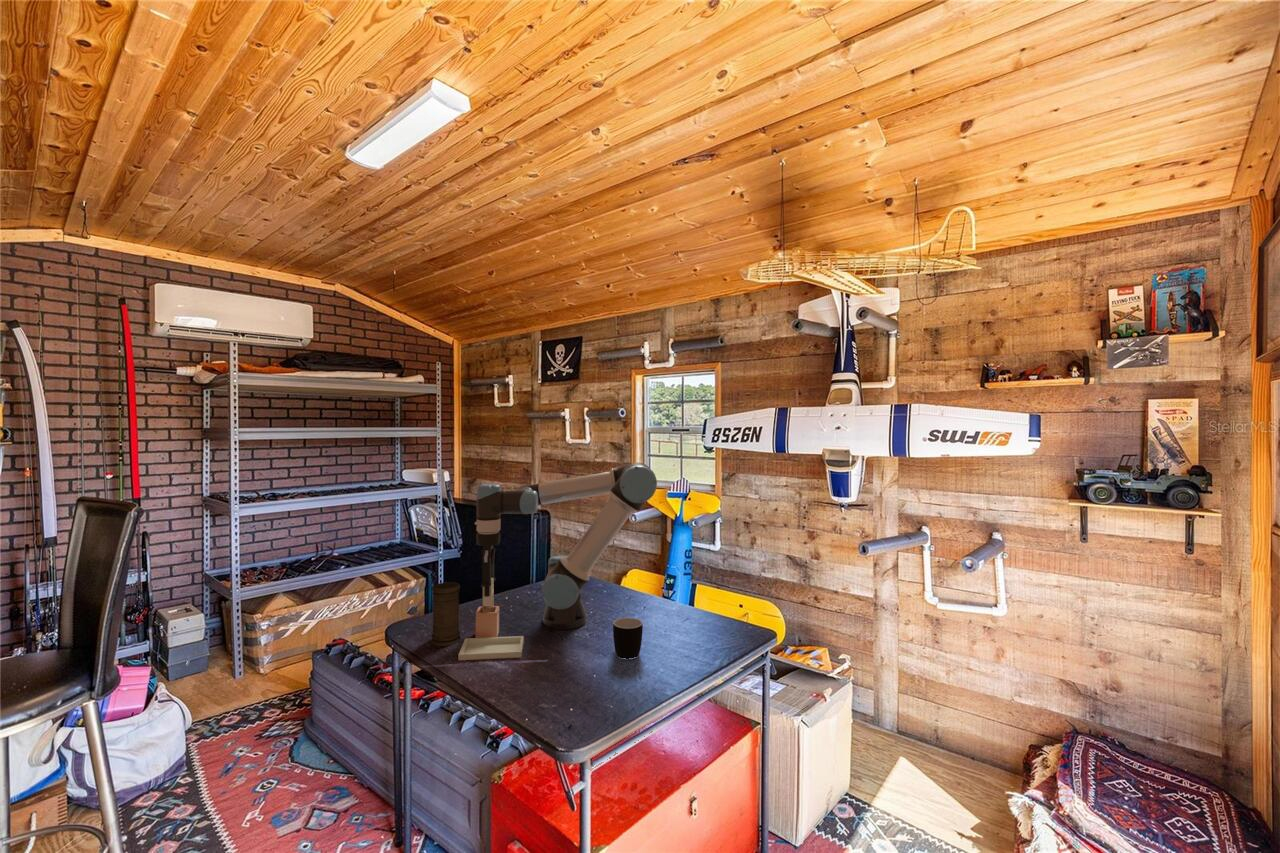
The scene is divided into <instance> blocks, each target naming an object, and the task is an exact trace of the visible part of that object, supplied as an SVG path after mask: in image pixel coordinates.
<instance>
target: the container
mask: <svg viewBox="0 0 1280 853" xmlns="http://www.w3.org/2000/svg"><path fill="white" fill-rule="evenodd" d="M460 589H461V585H460V584H459V583H458V582H454V581H453V582H452V581H449V582H448V581H447V582H441V583H436V584H434V585H432V588H431V590H432V594H433V598H432V602H433V603H432V606H433V608H432V609H433V612H432V614H433V616H432V617H433V618H432V619H433V620H432V622H433V623H432V634H431V640H430V643H431V644H432V645H434V646H439V647H446V646H451V645H455V644H458V643H459V642H460V641H461V639H462V638H461V631H460V620H459V608H460V607H459V606H460V604H459V603H460V602H459V601H460V596H459V594H460V593H459V592H460Z"/></svg>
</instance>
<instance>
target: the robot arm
mask: <svg viewBox="0 0 1280 853" xmlns="http://www.w3.org/2000/svg"><path fill="white" fill-rule="evenodd" d="M657 484H658V481H657V477H656V474H655V472H654V470H652V468H651V467H650V466H648V465H647V464H645V463H643V462H632V463H628V464H626V465H621V466H617V467H612V468H611V469H610V470H609V471H605V472H600V473H599V472H598V473H595V474H594V473H593V474H587V475H582V476H581V475H580V476H575V477H570V478H564V479H558V480H552V481H546V482H540V483H533V484H524V485H521V486H519V487H518V488H517V489H516V490H503V489H502V488H501V485H500V484H499V483H483V484H480V485H478V486H477V488H476V498H475V500H476V503H475V504H476V521H475V522H474V525H476V532H477V533H476V534H475V535H476V545H477V546H482V547H483V548H482V550H481V553H480V555H481V584H480V587H481V588H482V607H483V606H492V585H491V578H494V582H496V577H495V558H496V557H495V555H496V554H495V553H496V548H495V547H494V546H496V545H497V546H498V545H499V544H500V543H501V532H500V531H501V525H502V524H501V522H502V521H501V515H502V514H503V515H505V514H510V515H512V514H514V515H516V514H517V515H520V514H521V515H529V514H531V515H532V514H536V513H537V511H538V509H539V508H538V507H539V506H541V505H542V506H543V505H548V504H553V503H560V502H566V501H573V500H578V499H579V500H580V499H585V498H589V497H591V498H592V497H596V496H602V495H603V496H604V495H608V494H610V498H609V499H608V500H607V501H606V503H605V504H604V506H603V507H602V508H601V510H600V511H599V513H598V514H597V515H596V517H595V518H594V520H593V521H592V522H591V524H590V525H589V526H588V528H587V529H586V531H585V532H584V533H583V535H582V537H581V538H580V539H579V540H578V542H577V543H576V544H575V546H574V548H572V549H571V551H570V553H568V555H555V556H551V557H550V558H549V559H548V563H547V566H548V567H547V568H548V571H547V572H548V573H547V575H546V576H545V579H544V580H543V582H542V586H541V596H542V598H543V600H544V602H545V603H546V605H545V609H544V611H543V616H542V623H543V625H545V626H546V627H549V628H550V629H553V630H572V629H576V628H580V627H582V626H584V625H585V624H586V622H587V612H586V610H585V607H584V602H583V600H582V590H583V588H584V587H585V586H586V584H587V583H588V582H589V580H590V571H591V570H592V568H593V567H594V565H595V564H596V563H597V561H598V560H599V559H600V558H601V555H603V553H604V552H605V551H606V549H607V547H608V546H609V545H610V544H611V542H612V541H613V539H614V538H615V537H616V535H617V534H618V533H619V532H620V530H621V529H622V527H623V526H624V524H625V523H626V522H627V520H628V518H629V517H630V516H631V515H632V514H633V513H639V512H640V510H641V509H642V508H643V506H644V505H645V503H646V502H647V501H649V500H650V499H651V498H652V497H653V496H654V495H655V492H656V491H657V487H658V486H657Z"/></svg>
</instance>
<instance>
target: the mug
mask: <svg viewBox="0 0 1280 853" xmlns="http://www.w3.org/2000/svg"><path fill="white" fill-rule="evenodd" d="M643 628H644V625H643V621H642V620H641V619H639V618H636V617H622V618H621V617H620V618H617V619H615V620H614V621H613V623H612V632H613V633H612V635H613V645H614V652H615V655H616V657H617V656H618V657H620V658H626V659H629V658H634V657H637V656H638V657H639V655H640V653H641V648H642V642H643V630H644V629H643ZM618 657H617V658H618ZM638 657H637V658H638Z"/></svg>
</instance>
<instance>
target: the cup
mask: <svg viewBox="0 0 1280 853" xmlns="http://www.w3.org/2000/svg"><path fill="white" fill-rule="evenodd" d="M499 633H500V605H494V611H493V612H484V613H483V606H478V608H477V610H476V612H475V638H490V637H499Z"/></svg>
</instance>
